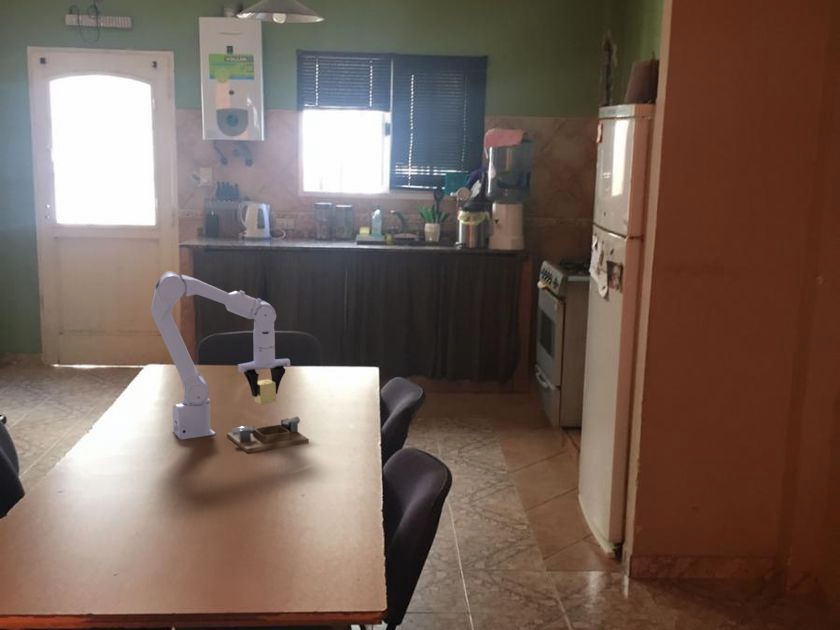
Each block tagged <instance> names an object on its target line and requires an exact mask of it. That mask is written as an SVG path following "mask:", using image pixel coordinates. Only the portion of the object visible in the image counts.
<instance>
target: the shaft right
mask: <svg viewBox="0 0 840 630" xmlns="http://www.w3.org/2000/svg"><path fill="white" fill-rule="evenodd" d="M300 422H301V419H300V417H299V416H294V417H287V418H284V419H281V420H280V425H281V426H283V427H284V428H286V429H287V430H289V431H290V432H291V434H293V433H296V432H299V429H298V428H299V427H298V425H299V424H300Z"/></svg>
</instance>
